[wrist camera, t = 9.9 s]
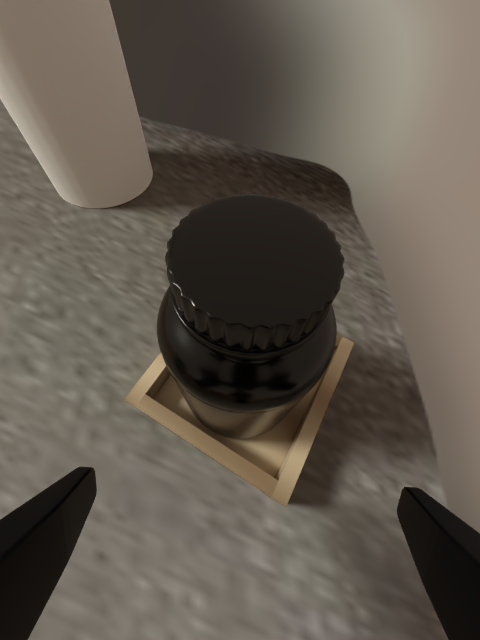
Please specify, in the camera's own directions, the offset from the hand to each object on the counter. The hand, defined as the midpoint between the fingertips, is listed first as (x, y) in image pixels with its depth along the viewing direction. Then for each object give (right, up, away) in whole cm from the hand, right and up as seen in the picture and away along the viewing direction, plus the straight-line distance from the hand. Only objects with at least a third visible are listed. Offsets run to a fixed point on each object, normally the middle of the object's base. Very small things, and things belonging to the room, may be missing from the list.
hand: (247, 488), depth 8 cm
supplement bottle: (0, +1, +10) cm, 10 cm away
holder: (0, +1, +10) cm, 10 cm away
